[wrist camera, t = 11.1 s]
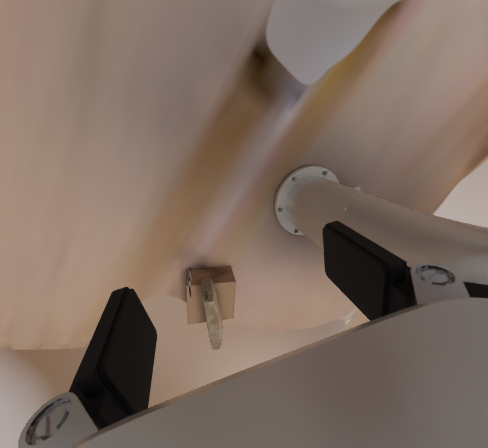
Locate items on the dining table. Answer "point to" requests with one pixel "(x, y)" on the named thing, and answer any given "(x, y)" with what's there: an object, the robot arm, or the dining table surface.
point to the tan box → (223, 287)
